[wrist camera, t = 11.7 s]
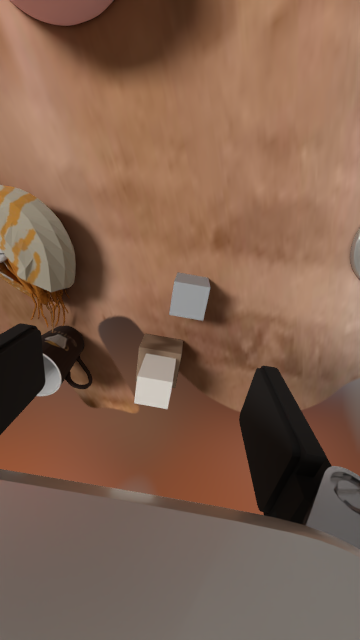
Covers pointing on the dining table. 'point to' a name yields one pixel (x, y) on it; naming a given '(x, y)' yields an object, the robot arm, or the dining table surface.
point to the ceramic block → (155, 381)
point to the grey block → (190, 296)
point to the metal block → (161, 351)
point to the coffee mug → (61, 358)
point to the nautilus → (34, 249)
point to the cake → (63, 10)
